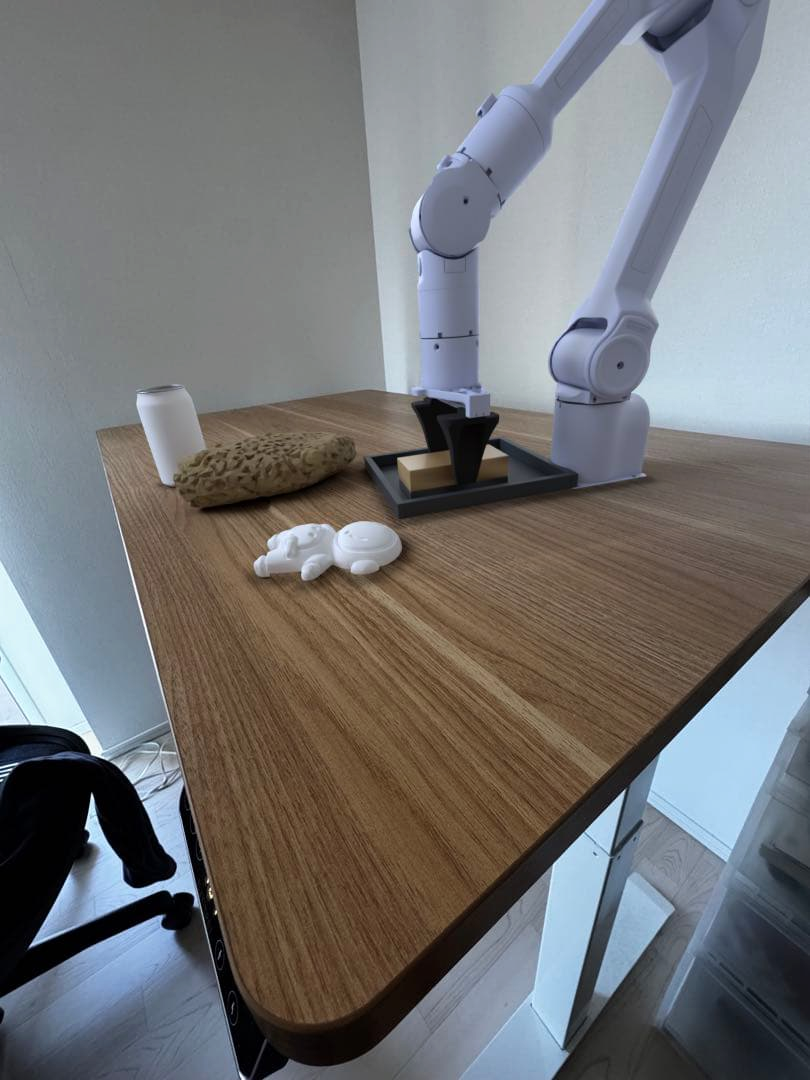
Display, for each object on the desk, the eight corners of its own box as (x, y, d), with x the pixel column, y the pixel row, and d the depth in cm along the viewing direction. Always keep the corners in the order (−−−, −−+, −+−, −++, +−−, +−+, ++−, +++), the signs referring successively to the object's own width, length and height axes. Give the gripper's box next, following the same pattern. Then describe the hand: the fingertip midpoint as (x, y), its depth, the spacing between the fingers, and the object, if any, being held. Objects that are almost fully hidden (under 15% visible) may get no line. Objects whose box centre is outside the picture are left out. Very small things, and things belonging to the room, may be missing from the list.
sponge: (189, 533, 48) (365, 474, 49) (155, 463, 46) (340, 402, 46) (222, 508, 61) (361, 461, 61) (197, 452, 58) (342, 404, 59)
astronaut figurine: (281, 537, 43) (274, 508, 41) (405, 533, 42) (403, 503, 40) (245, 588, 35) (235, 554, 34) (397, 585, 34) (393, 550, 32)
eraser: (488, 473, 53) (489, 444, 52) (507, 486, 49) (509, 455, 47) (399, 487, 51) (397, 457, 49) (411, 502, 47) (409, 470, 45)
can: (218, 479, 60) (192, 386, 55) (166, 491, 57) (134, 394, 52) (207, 468, 65) (183, 382, 60) (159, 479, 62) (129, 389, 57)
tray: (502, 451, 63) (502, 436, 62) (576, 492, 47) (578, 473, 47) (365, 471, 59) (363, 456, 58) (399, 524, 43) (397, 504, 43)
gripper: (391, 337, 48) (400, 459, 55) (434, 343, 36) (439, 500, 42) (452, 332, 50) (454, 451, 56) (514, 335, 37) (508, 488, 43)
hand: (452, 472), depth 49 cm, fingers open, 7 cm apart
